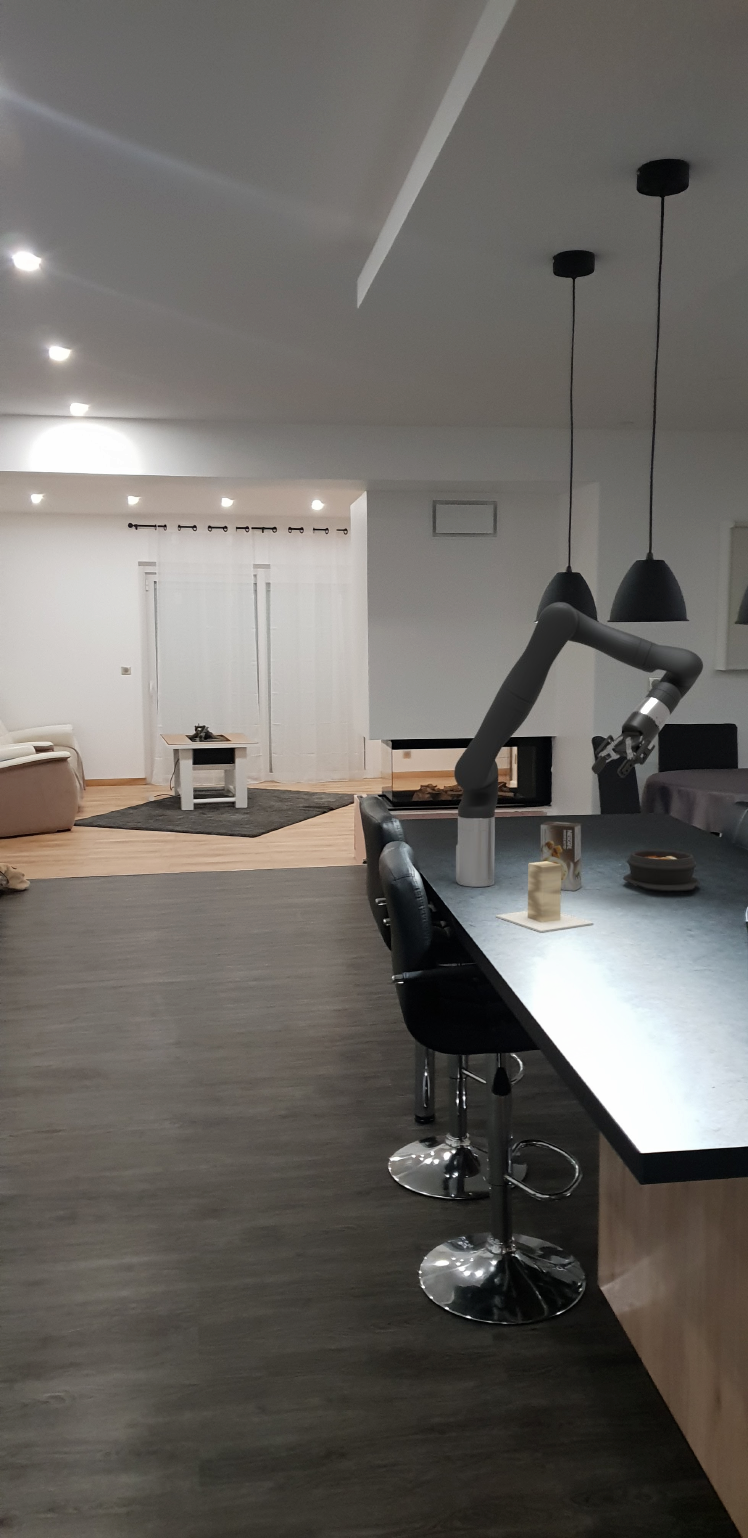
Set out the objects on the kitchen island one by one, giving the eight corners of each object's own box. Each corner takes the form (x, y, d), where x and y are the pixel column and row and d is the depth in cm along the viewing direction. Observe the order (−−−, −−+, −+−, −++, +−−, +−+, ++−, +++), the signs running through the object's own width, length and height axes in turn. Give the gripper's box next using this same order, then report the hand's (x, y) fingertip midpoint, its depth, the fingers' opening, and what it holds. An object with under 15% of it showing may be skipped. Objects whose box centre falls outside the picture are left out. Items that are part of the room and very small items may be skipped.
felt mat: (495, 917, 233) (495, 915, 233) (546, 909, 240) (546, 908, 240) (541, 932, 219) (541, 930, 219) (593, 924, 226) (593, 922, 226)
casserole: (711, 898, 252) (712, 863, 251) (631, 897, 253) (632, 862, 253) (687, 878, 277) (688, 846, 276) (615, 877, 278) (616, 845, 278)
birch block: (527, 917, 231) (528, 863, 230) (545, 915, 233) (546, 861, 232) (541, 922, 226) (542, 867, 225) (560, 919, 229) (561, 864, 228)
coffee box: (582, 886, 266) (583, 823, 264) (574, 891, 260) (576, 826, 258) (547, 883, 270) (548, 820, 268) (539, 888, 264) (539, 824, 263)
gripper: (616, 709, 249) (577, 760, 245) (660, 711, 237) (620, 764, 233) (632, 731, 253) (594, 781, 248) (676, 734, 240) (637, 787, 236)
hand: (607, 773), depth 240 cm, fingers open, 8 cm apart
